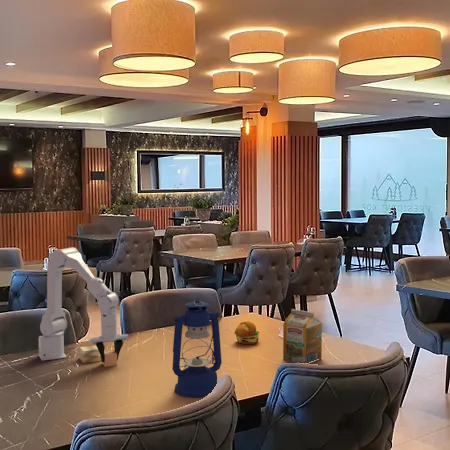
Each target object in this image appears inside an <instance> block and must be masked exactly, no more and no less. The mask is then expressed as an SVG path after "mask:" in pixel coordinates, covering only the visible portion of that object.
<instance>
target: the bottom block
mask: <svg viewBox="0 0 450 450" xmlns="http://www.w3.org/2000/svg"><path fill="white" fill-rule="evenodd" d="M79 360H80V361H81V363H83V364H88V363H96V362H102V361H101V356H100V353H99V356H92V357H83V356H82V355H81V354H80V352H79Z"/></svg>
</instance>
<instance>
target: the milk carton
mask: <svg viewBox="0 0 450 450" xmlns="http://www.w3.org/2000/svg"><path fill="white" fill-rule="evenodd" d="M282 328H283V330H282V331H283V334H282V336H283V338H282V339H283V343H282V344H283V345H282V347H283V349H282V351H283V352H282V355H283V356H282V358H283V361H287V362H292V363H295V362H299V363H309V362H311V361H314V360H317V359H320V358H322V356H323V355H322V350H323V349H322V344H323V343H322V340H323V335H322V334H323V331H322V330H323V323H322V321H321V320H320V319H319V318H317V317H316V316H315V313H314V312H311V311H305V310H300V309H295V308H291V313H289V315H288V316H287V317H286V318H285V320H284V321H283V327H282ZM320 360H321V359H320ZM299 363H298V364H299Z"/></svg>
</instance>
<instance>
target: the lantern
mask: <svg viewBox="0 0 450 450" xmlns="http://www.w3.org/2000/svg"><path fill="white" fill-rule="evenodd" d="M208 306H210V304H209V303H208V302H204V301H201V300H194V301H190V302H187V303H184V307H187V310H185V314H181V315H179V317H178V316H175V317H174V318H173V321H174V331H173V346H172V352H173V353H172V354H173V355H172V366H171V367H172V371H173V374H174V375H175V376H177V383H176V384H175V385H174V393H176V395H178V396H180V397H185V398H190V399H192V398H193V399H203V397H204V398H206V397H205V396H207V395H208V394H209V393H211V392H212V390H213V389H214V387H215V386H216V384H217V382H218V375H217V374H218V373H217V371H219V370H220V369H221V366H222V363H223V361H222V350H221V338H220V336H221V334H220V324H219V317H220V312H218V311H217V312H215V313H214V312H212V311H209V310H208V309H207V308H208ZM210 320H211V321H210ZM183 326H185V327H187V331H186V332H185V334H184V337H185V338H187V340H186V341H185V342H184V343H183V345H182V336H183ZM209 326H211V332H212V333H211V339H210V345H209V344H208V342H206V341H204V340H203V339H207V338H209V337H210V332H209V331H208V330H207V329H208V327H209ZM190 340H199V341H202V342H204V343H205V345H200V346H199V345H198V346H195V347H191V348H188V349H187V350H185V351H184V353H186V352H188V351H189V350H192V349H195V348H202V347H205V348H206V347H207V348H208V349H207V351H206V352H205V354H202V355H201V354H200V355H197V356H195V357H193V358H192V357H191V358H186V357H184V353H182V350H183V349H184V347H185V344H186V343H187V342H188V341H190ZM212 344H213V348H212ZM210 350H211V353H210V354H209V355H208V356H207V358H204V356H206V355H207V354H208V353H209V351H210ZM210 356H211V359H209V357H210ZM181 360H184V361H183V365H181ZM211 364H212V366H211V367H208V366H210V365H211ZM183 367H184V369H181V368H183Z"/></svg>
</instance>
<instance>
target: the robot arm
mask: <svg viewBox="0 0 450 450" xmlns="http://www.w3.org/2000/svg"><path fill="white" fill-rule="evenodd" d="M66 268H69V269H74V270H75V271H76V273H78V274H79V275H80V277H82V279H83V280H84V281H85V282H86V283H87V287H86V288H87V290H89V293H91V294H92V296H93V297H94V298H95V299H96V300H97V301H96V302H97V306H98V308H99V313H100V322H101V323H100V333H101V335H100V336H96V337H90V338H89V339H88V340H89V344H90V346H93V345H95V346H97V348H98V350H99V354H100V356H101V361H100V362H104V361H105V358H104V352H105V348H106V347H105V344H104V343H110V342H111V343H113V345H114V346H113V347H114V351H115V352H116V353H117V361H119V356H120V352H121V349H122V347H123V346H124V341H129V337H130V336H129V334H128V333H124V334H123V333H122V334H117V333H118V331H117V330H118V328H117V327H118V326H117V307H118V305H119V303H120V298H119V296H118V294H117V293H116V292H113V291H112V290H111V289H110V288H108V287H107V286H106V284H105V283H104V280H103V279H101V278H100V277H95V276H94V274H93V273H92V272H91V270H90V268H89V267H88V266H87V264H86V262H84V259H83V257H82V254H81V253H80V252H79V250H78V249H77V248H76V247H73V246H71V247H66V248H61V249H54V250H53V251H51V253H50V254H49V261H48V264H47V268H46V269H47V277H46V279H47V280H46V282H47V283H46V284H47V286H46V311H45V313H43V314H42V317H41V322H40V325H39V329H40V333H41V334H42V335H39V336H38V356H39V359H40V360H41V361H49V360H57V359H59V360H60V359H65V358H67V355H66V354H65V346H64V345H65V344H64V341H65V340H64V339H65V338H64V334H65V331H66V329H67V328H68V320H67V319H66V312H65V311H63V309H62V307H63V306H62V305H63V303H62V302H63V301H62V300H63V299H62V298H63V297H62V296H63V288H62V287H63V271H64V270H65V269H66Z"/></svg>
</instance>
